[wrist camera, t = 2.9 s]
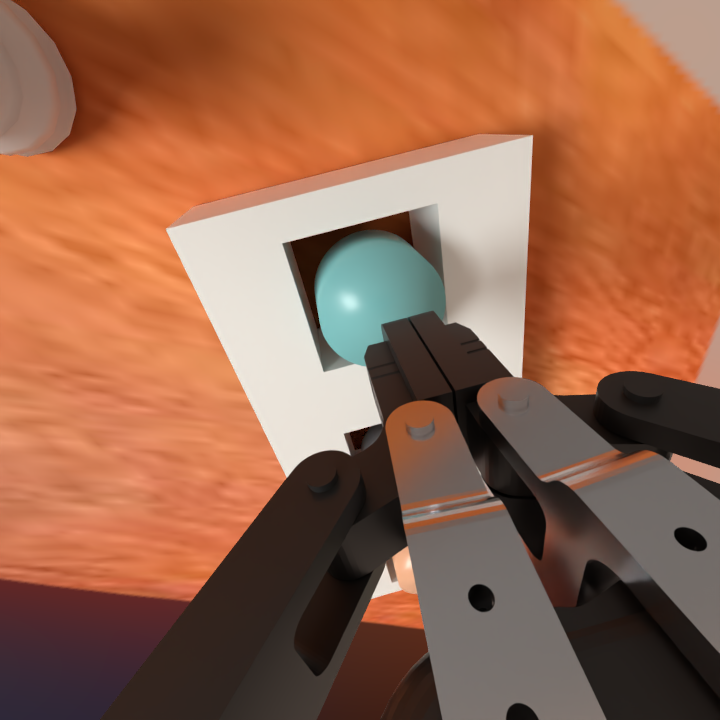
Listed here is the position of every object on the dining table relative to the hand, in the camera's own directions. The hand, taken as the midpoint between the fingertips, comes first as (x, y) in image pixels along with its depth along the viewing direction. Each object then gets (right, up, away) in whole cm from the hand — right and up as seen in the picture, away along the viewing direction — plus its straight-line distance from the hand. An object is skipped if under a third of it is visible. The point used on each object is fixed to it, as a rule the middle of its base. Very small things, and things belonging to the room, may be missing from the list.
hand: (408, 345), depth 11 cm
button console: (0, -3, +11) cm, 12 cm away
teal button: (-1, +2, +4) cm, 5 cm away
